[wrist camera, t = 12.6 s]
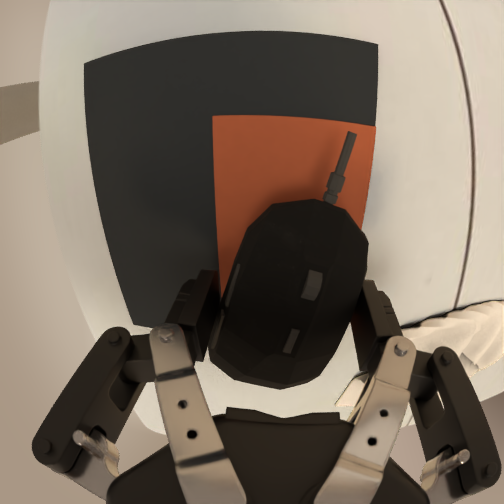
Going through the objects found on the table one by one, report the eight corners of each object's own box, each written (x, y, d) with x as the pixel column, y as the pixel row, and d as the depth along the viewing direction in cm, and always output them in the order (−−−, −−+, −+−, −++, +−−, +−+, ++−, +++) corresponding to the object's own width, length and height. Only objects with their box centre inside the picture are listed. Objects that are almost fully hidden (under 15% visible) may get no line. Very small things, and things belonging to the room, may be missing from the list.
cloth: (524, 332, 18) (532, 346, 16) (392, 423, 28) (394, 438, 26) (488, 226, 13) (507, 244, 11) (286, 385, 23) (285, 406, 21)
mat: (135, 321, 21) (132, 326, 21) (87, 63, 11) (82, 63, 10) (329, 341, 20) (330, 347, 19) (375, 45, 9) (379, 43, 9)
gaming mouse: (416, 162, 9) (468, 194, 6) (297, 373, 17) (295, 425, 14) (273, 105, 9) (266, 105, 6) (206, 352, 17) (191, 403, 14)
